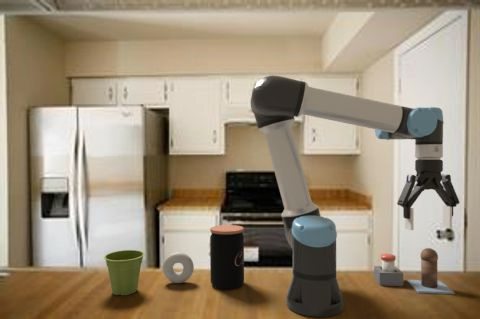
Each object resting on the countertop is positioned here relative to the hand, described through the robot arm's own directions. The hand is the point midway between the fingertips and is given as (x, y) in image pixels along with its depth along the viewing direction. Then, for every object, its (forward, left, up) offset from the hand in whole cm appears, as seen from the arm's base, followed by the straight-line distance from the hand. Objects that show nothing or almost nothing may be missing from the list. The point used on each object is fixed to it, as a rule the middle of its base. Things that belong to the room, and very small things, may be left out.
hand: (428, 228), depth 112 cm
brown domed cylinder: (0, 0, -18) cm, 18 cm away
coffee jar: (-62, -3, -18) cm, 65 cm away
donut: (-78, -3, -18) cm, 80 cm away
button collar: (-11, +4, -18) cm, 21 cm away
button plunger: (-11, +4, -17) cm, 21 cm away
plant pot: (-92, -12, -18) cm, 94 cm away
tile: (0, 0, -18) cm, 18 cm away
